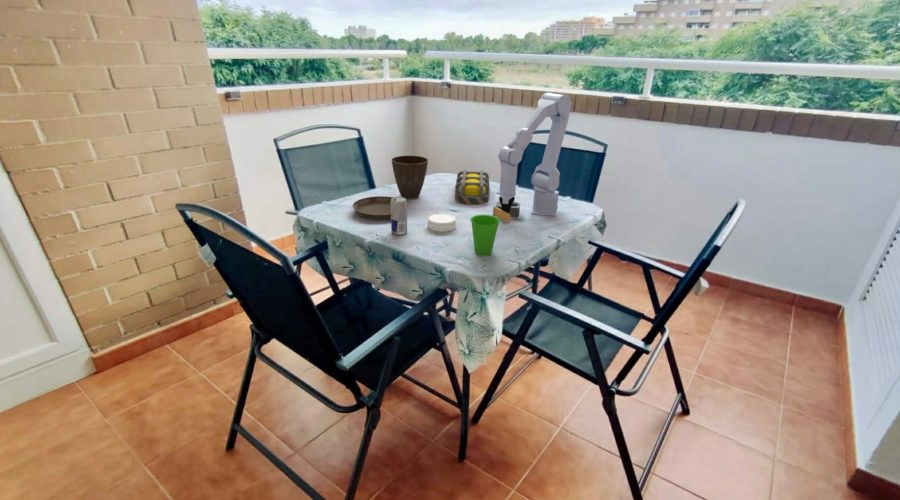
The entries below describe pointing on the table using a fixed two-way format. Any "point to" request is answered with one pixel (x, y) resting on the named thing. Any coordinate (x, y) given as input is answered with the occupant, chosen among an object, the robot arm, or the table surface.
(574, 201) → the table surface
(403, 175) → the plant pot
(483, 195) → the cage light
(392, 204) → the energy drink
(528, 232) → the table surface
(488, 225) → the cup
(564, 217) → the table surface
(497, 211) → the wooden matchstick
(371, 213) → the plant saucer
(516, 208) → the camera body
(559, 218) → the table surface
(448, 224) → the white round disc
